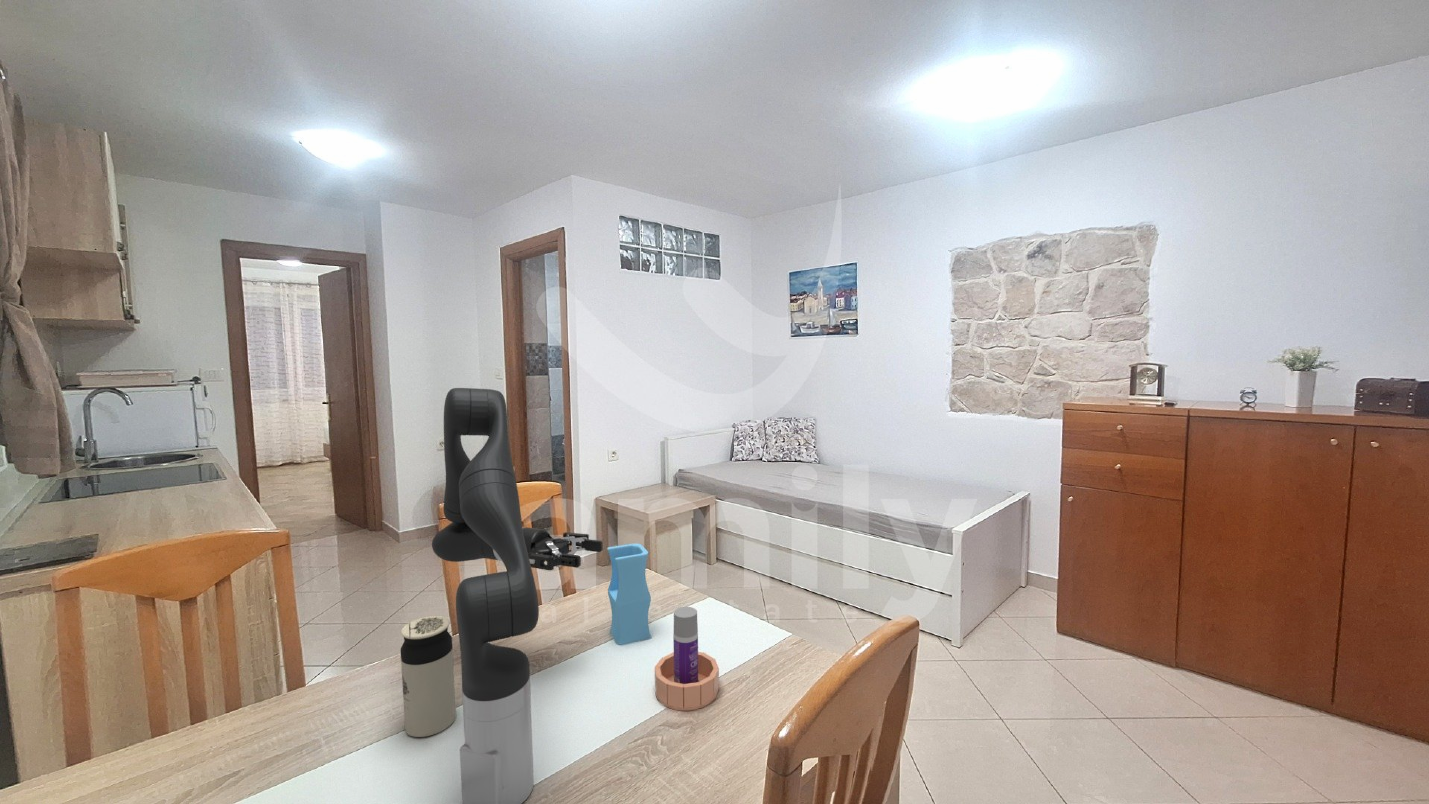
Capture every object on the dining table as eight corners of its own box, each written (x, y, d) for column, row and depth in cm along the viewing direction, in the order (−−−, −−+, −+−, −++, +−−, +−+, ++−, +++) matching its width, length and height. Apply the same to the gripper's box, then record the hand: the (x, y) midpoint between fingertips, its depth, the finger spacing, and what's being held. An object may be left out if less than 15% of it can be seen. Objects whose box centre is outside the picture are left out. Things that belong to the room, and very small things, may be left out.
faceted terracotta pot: (706, 716, 98) (706, 692, 98) (645, 703, 102) (645, 680, 101) (725, 678, 110) (725, 656, 109) (669, 668, 113) (669, 646, 113)
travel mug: (457, 704, 102) (452, 611, 100) (454, 731, 94) (449, 632, 93) (409, 714, 99) (403, 619, 97) (401, 744, 92) (395, 641, 90)
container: (695, 695, 103) (694, 618, 102) (671, 692, 104) (670, 616, 102) (700, 680, 108) (700, 607, 106) (677, 678, 108) (676, 605, 107)
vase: (608, 630, 129) (606, 547, 127) (641, 622, 132) (639, 542, 130) (617, 646, 122) (615, 559, 120) (651, 638, 125) (650, 553, 123)
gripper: (498, 539, 107) (571, 547, 102) (542, 518, 121) (608, 524, 116) (500, 576, 108) (572, 586, 103) (543, 551, 121) (608, 559, 117)
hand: (591, 553), depth 109 cm, fingers open, 8 cm apart
